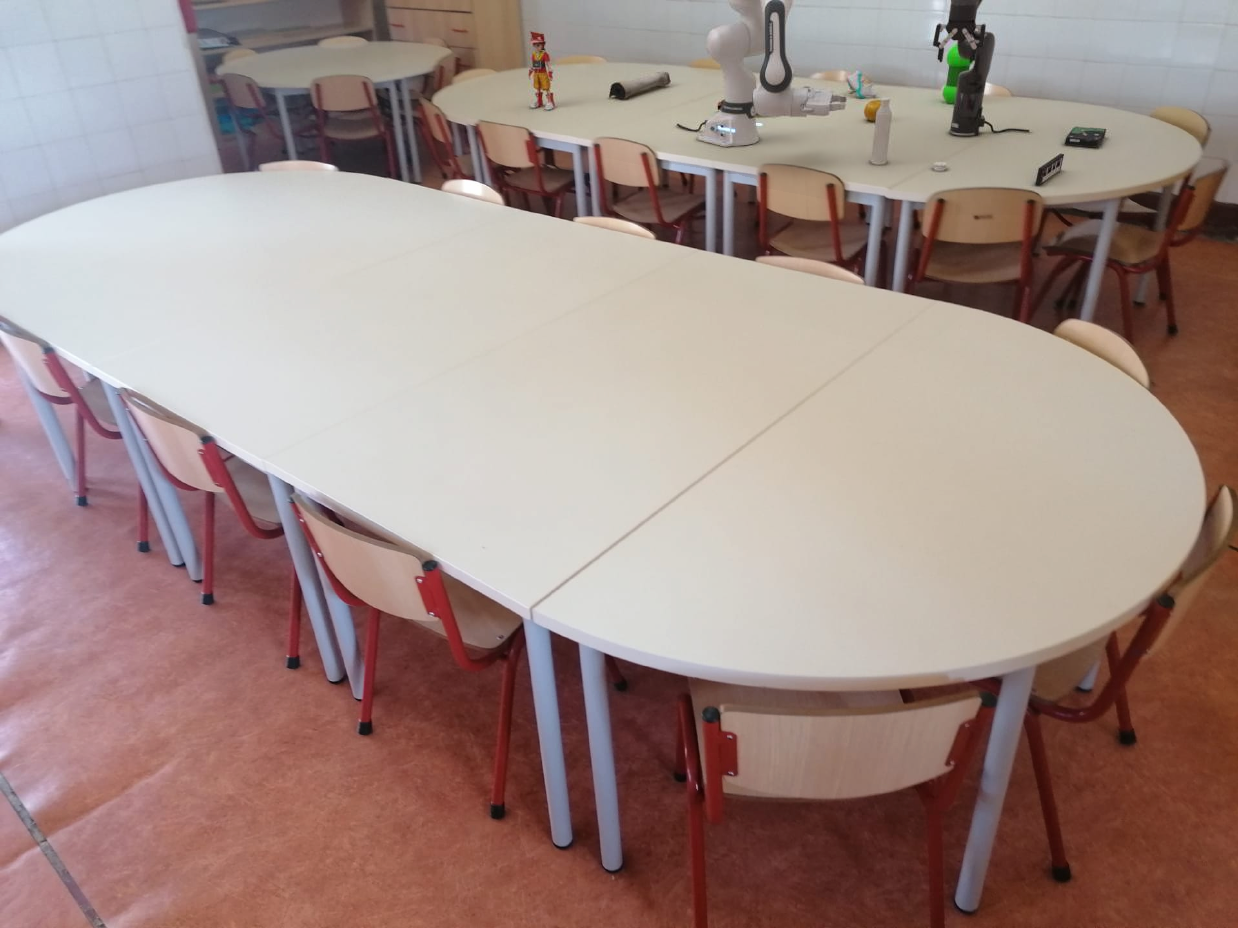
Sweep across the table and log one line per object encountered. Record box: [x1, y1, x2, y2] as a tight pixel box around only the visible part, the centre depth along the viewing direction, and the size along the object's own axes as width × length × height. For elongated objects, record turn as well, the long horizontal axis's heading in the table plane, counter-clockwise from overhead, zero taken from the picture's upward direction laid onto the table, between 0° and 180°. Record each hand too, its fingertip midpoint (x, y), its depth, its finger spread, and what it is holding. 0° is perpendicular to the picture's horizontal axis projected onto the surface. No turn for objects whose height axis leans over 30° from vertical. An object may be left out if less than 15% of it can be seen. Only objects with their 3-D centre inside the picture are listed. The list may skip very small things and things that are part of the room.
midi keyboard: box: [1035, 153, 1065, 186], centre depth 273 cm, size 18×1×5 cm, turn 138°
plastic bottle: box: [942, 43, 974, 104], centre depth 348 cm, size 10×10×25 cm
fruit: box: [863, 99, 882, 122], centre depth 337 cm, size 8×8×8 cm
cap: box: [933, 161, 947, 172], centre depth 287 cm, size 4×4×2 cm
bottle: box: [870, 97, 893, 166], centre depth 290 cm, size 5×5×20 cm
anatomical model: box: [846, 69, 878, 99], centre depth 370 cm, size 15×10×10 cm
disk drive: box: [1064, 126, 1107, 148], centre depth 303 cm, size 10×3×15 cm
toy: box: [527, 31, 556, 111], centre depth 374 cm, size 12×9×30 cm
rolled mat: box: [608, 71, 672, 101], centre depth 395 cm, size 30×9×10 cm
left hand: (845, 102), depth 288 cm, fingers open, 8 cm apart
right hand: (955, 62), depth 269 cm, fingers open, 8 cm apart
